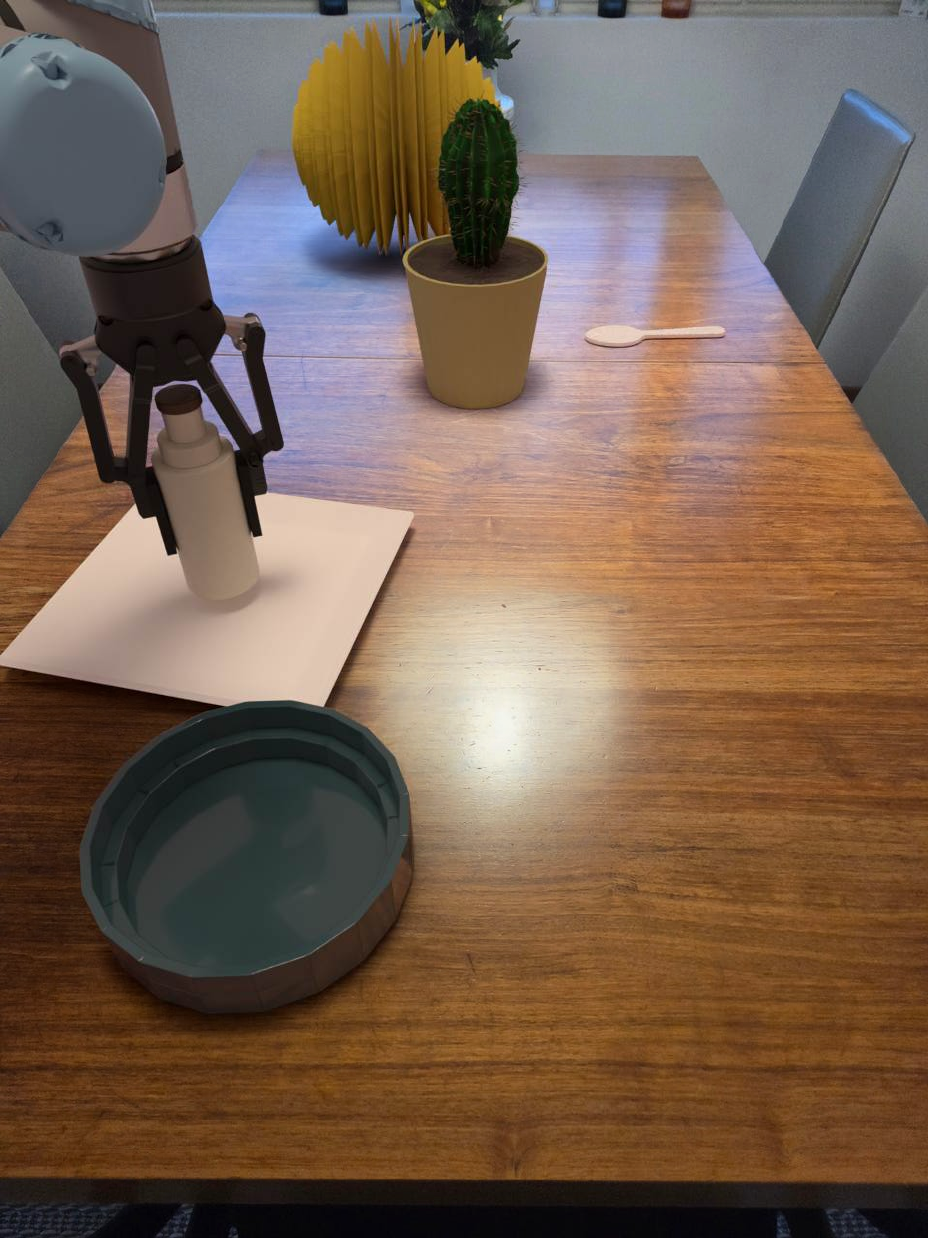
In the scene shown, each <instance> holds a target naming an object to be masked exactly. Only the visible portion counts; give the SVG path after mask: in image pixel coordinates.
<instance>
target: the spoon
mask: <svg viewBox="0 0 928 1238" xmlns="http://www.w3.org/2000/svg"><path fill="white" fill-rule="evenodd" d="M725 335H726V329H725V327H723V326H721V325H720V326H719V325H707V326H693V327H692V326H688V327H678V328H677V327H676V328H666V329H665V328H664V329H663V328H660V329H659V328H657V329H646V330H644V329H639V328H637V327H633V326H630V325H624V324H608V325H602V326H597V327H593V328H591V329H588V330H587V331H586V332H585V334H584V339H585V340H586V341H587V342H589V343H591V344H593V345H598V346H604V347H616V348H617V347H621V348H622V347H630V346H634V345H637V344H640V343H641V342H642V341H644V340H645V339H687V338H690V339H692V338H697V339H698V338H721V337H724V336H725Z"/></svg>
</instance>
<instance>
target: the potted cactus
mask: <svg viewBox="0 0 928 1238" xmlns="http://www.w3.org/2000/svg"><path fill="white" fill-rule="evenodd" d="M484 90H485V89H484ZM483 93H484V92H483ZM482 96H483V94H482ZM482 96H481V98H482ZM473 98H474V97H473ZM455 99H456V98H455ZM459 99H460V98H459ZM460 101H461V100H460ZM464 101H465V100H464ZM490 101H491V100H490ZM457 103H459V102H458V101H457ZM461 103H462V102H461ZM459 104H460V103H459ZM451 105H452V104H451ZM499 105H501V101H500V102H499V104H498V107H499V108H500V106H499ZM460 106H461V104H460ZM456 107H457V106H456ZM498 107H496V106H495V104H490V103H489V101H488V100H487V98H486V100H485V99H483V100H482V101H481V100H480V101H479V98H478V99H477V102H476V101H473V99H471V98H470V99H469V100H467V101H466V103H464V104H463V105H462V106H461V107H460V109H459V108H458V107H457V108H458V109H459V111H458V112H456V113H455V114H456V115H454V114H452V113H451V114H452V116H453V115H454V116H455V117H454V116H453V118H452V117H451V119H454V118H455V120H454V121H452V122H450V124H449V127H447V130H446V133H445V134H444V135H443V138H442V142H441V143H442V144H441V155H440V157H439V167H438V170H439V171H438V173H437V171H435V169H437V168H432V169H430V170H434V171H435V173H437V174H438V176H437V175H436V177H438V182H437V184H438V185H436V186H438V188H439V189H438V188H437V189H438V190H439V191H441V192H442V193H443V194H442V195H441V196H443V195H444V199H445V200H444V199H443V200H444V201H445V204H446V206H442V208H443V207H448V211H445V212H446V214H448V215H449V223H448V222H446V223H445V225H446V224H447V223H448V224H449V227H448V226H446V227H445V228H447V227H448V228H449V231H448V232H449V234H446V235H442V236H438V237H436V236H434V237H429V238H428V239H427V240H422V242H419V243H418V242H417V243H416V244H414V245H412V246H410V247H409V249H408V250H407V251H405V253H403V255H402V264H403V267H404V268H405V269H404V270H405V277H406V281H407V282H406V283H407V286H408V291H409V297H410V301H411V307H412V312H413V317H414V318H413V319H414V322H415V328H416V332H417V337H418V344H419V348H420V353H421V357H422V358H421V359H422V365H423V370H424V375H425V380H426V385H427V388H428V390H429V393H430V394H431V395H432V397H433V398H435V399H436V400H438V401H439V402H440V403H443V404H445V405H448V406H451V407H455V408H460V409H469V410H482V409H483V410H485V409H491V408H497V407H500V406H503V405H506V404H508V403H511V402H513V401H514V400H515V399H517V398H519V396H520V395H521V394H522V392H523V390H524V386H525V383H526V380H527V379H526V378H527V373H528V367H529V363H530V357H531V353H532V347H533V343H534V337H535V333H536V328H537V322H538V317H539V313H540V306H541V301H542V297H543V292H544V287H545V282H546V278H547V277H546V276H547V269H548V263H549V255H548V254H547V252H546V251H545V249H543V248H542V246H540V245H538V244H536V243H534V242H533V241H531V240H527V239H525V238H522V237H518V236H514V235H510V234H509V232H511V231H512V232H513V228H511V229H510V226H511V227H512V226H513V227H514V226H516V227H517V226H519V225H518V222H516V221H514V223H511V219H513V216H512V211H513V210H514V211H516V210H521V208H518V206H519V203H518V201H517V200H516V198H517V195H519V196H521V194H524V192H522V188H520V186H521V187H523V188H527V185H529V184H532V183H531V182H528V183H524V181H526V180H527V178H526V176H528V175H529V173H528V174H526V175H524V176H521V177H520V176H519V174H518V172H520V171H524V169H522V168H521V167H520V165H519V164H523V161H520V160H519V158H518V154H520V153H521V152H525V151H526V152H527V150H525V149H524V150H523V149H522V150H521V149H520V150H519V151H518V148H519V147H520V148H521V145H522V144H523V142H522V143H521V142H520V141H521V139H519V137H518V138H516V137H517V136H519V134H518V132H516V133H515V134H514V133H513V132H514V129H515V128H516V127H517V125H515V124H514V123H515V120H516V118H518V117H519V116H520V114H518V116H516V117H514V116H512V117H511V118H510V119H508V118H509V115H510V114H511V113H510V111H511V110H513V108H514V107H513V108H511V109H510V108H509V109H508V110H507V111H506V113H504V112H503V111H502V112H501V111H500V110H499V108H498ZM453 108H454V107H453ZM453 108H451V109H452V110H453ZM454 110H455V109H454ZM454 110H453V111H454ZM455 111H456V110H455ZM455 111H454V112H455ZM448 112H449V111H448ZM449 114H450V112H449ZM505 115H506V116H505ZM444 117H445V116H444ZM449 117H450V116H449ZM446 118H447V117H446ZM446 118H445V119H446ZM446 120H447V119H446ZM448 120H449V119H448ZM447 122H448V121H447ZM511 122H512V124H510V123H511ZM440 138H441V137H440ZM435 142H436V141H435ZM437 143H438V142H437ZM520 144H521V145H520ZM432 146H433V145H432ZM525 146H526V144H525V145H524V144H523V145H522V147H525ZM436 147H438V146H436ZM517 147H518V148H517ZM438 153H439V152H438ZM431 155H433V154H431ZM434 156H436V155H434ZM437 157H438V156H437ZM437 160H438V159H437ZM425 171H427V170H425ZM434 171H433V172H434ZM429 172H430V171H429ZM431 173H432V172H431ZM432 174H433V173H432ZM434 175H435V174H434ZM432 179H437V178H432ZM435 181H437V180H435ZM432 182H433V181H432ZM434 184H435V183H433V185H434ZM430 185H431V184H430ZM438 190H437V191H438ZM437 191H436V192H437ZM439 191H438V192H439ZM436 192H435V193H436ZM438 192H437V193H438ZM441 192H440V194H441ZM437 193H436V194H437ZM441 196H440V197H441ZM440 197H439V198H440ZM441 198H442V197H441ZM443 200H442V201H443ZM442 201H441V202H442ZM444 201H443V202H444ZM514 201H515V206H516V207H515V206H514V204H513V203H514ZM443 202H442V203H443ZM442 203H441V204H440V205H442ZM443 204H444V203H443ZM445 204H444V205H445ZM438 206H439V205H438ZM438 206H437V207H438ZM437 207H436V208H437ZM436 208H435V209H436ZM514 208H515V209H514ZM441 210H442V209H441ZM444 210H446V209H444ZM521 211H522V210H521ZM447 212H448V213H447ZM444 214H445V213H444ZM442 215H443V214H442ZM441 217H445V216H441ZM514 218H515V219H519V217H517V216H514ZM447 219H448V218H447ZM447 219H446V220H447ZM520 219H521V220H522V219H523V218H521V217H520ZM442 220H444V219H442ZM444 221H445V220H444ZM442 222H443V221H442ZM448 228H447V229H448ZM442 230H443V229H442Z"/></svg>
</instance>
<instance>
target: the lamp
mask: <svg viewBox="0 0 928 1238" xmlns="http://www.w3.org/2000/svg"><path fill="white" fill-rule="evenodd" d="M415 27H416V26H415V18H413V19H412V24H411V29H410V34H409V39H408V43H407V50H406V54H405V60H404V64H403V52H402V45H401V34H400V33H401V32H400V25H399V17H398V16H396V27H395V34H394V29H393V23H392V18H391V16H389V24H388V60H387V56H386V53H385V49H384V46H383V43H382V39H381V36H380V33H379V30H378V26H377V22H376V21H375V18H374V17H373V18H372V29H371V27H370V23H369V21H368V20H367V19H366V20H365V27H364V47H363V45H362V42H361V41H360V39H359V37H358V35H357V33H356V32H355V29H354V28H353V26H350V27H349V28H350V29H349V33H348V31H347V30H346V29H344V30H343V35H342V50H341V48H339V46H338V45H337V44H336V43H335V42H334V40H330V42H329V45H325V46H324V51H323V62H322V61H320V60H319V59H318V58H314V59H313V63H312V64H310V65H309V69H308V77H307V79H308V80H305V79H303V80H301V84H300V86H299V89H298V93H297V94H298V95H297V103H295V104H294V107H293V113H292V131H291V140H292V142H291V143H292V145H291V146H292V152H293V157H294V158H293V159H294V161H295V164H296V170H297V175H298V177H299V179H300V182H301V185H302V186H303V187H304V186H305V191H306V193H307V197H308V200H309V201H310V202H311V204H312V206H313V207H314V208H317V207H319V211H320V214H321V217H322V219H323V220H324V221H326V223H327V225H328V226H331V225H332V224H333V223H334V222H335V223H336V228H337V231H338V234H339V236H341V237H344V239H345V240H346V241H348V240H349V238H350V237H351V236H352V234H353V232H355V238H356V243H357V245H358V248H359V249H360V248H362V246H363V247H364V248H363V249H364V250H365V251H367V250H368V248H369V245H370V244H371V241H372V239H373V237H374V234H375V236H376V244H377V250H378V255H380V256H381V255H382V254H383V250H384V252H385V256H386V257H388V256H389V250H390V246H391V242H392V236H393V231H394V228H395V227H394V225H395V222H396V226H397V233H398V234H397V236H398V245H399V246H398V247H399V252H400V258H401V259H403V250H404V244H405V249H406V251H407V250H408V249H409V248H410V219H411V222H412V225H413V229H414V232H415V236H416V240H417V243H419V242H422V241H424V240H427V239H429V226H430V228H431V229H432V231H433V234H434V235H435V237H438V236H442V235H446V234H450V233H449V232H448V231H450V227H449V226H450V223H449V215H448V214H446V212H445V211H448V207H443V208H442V206H446V204H445V201H444V200H445V199H444V195H443V196H441V195H442V194H443V193H442V192H441V191H439V190H438V189H439V188H438V186H436V185H438V184H437V182H438V177H436V175H437V176H438V174H437V173H438V171H439V170H438V167H439V157H440V155H441V144H442V143H441V142H442V138H443V135H444V134H445V133H446V130H447V127H449V124H450V122H452V121H454V120H455V118H454V119H451V117H452V118H453V116H454V115H456V114H455V113H456V112H458V111H459V109H460V107H461V106H462V105H463V104H464V103H466V101H467V100H469V99H470V98H471V99H473V101H476V102H477V99H478V98H479V101H480V100H481V101H482V100H483V99H485V100H486V98H487V100H488V101H489V103H490V104H495V106H496V107H498V104H499V102H500V103H501V100H496V91H495V84H494V83H492V80H491V77H490V76H489V77H486V78H485V79H483V68H482V62H481V61H479V62H478V59H477V55H475V56H473V57H472V58H471V59H470V60H469V61H468V62H466V49H465V43H464V42H462V44H461V45H460V42H459V38H456V40H455V42H454V43H453V45H452V46H451V47H450V49H449V50H448V52H447V53H446V47H445V46H446V45H445V43H446V42H445V29H444V28H443V29H442V30H441V32H440V34H439V35H438V25H436V26H435V28H434V31H433V33H432V35H431V37H430V38H431V39H429V43H428V44H427V48H426V50H425V52H424V55H423V39H422V38H423V36H422V20H420V21H419V26H418V29H417V33H416V30H415ZM484 89H485V90H484ZM483 92H484V93H483ZM482 94H483V96H482ZM481 96H482V98H481ZM473 97H474V98H473ZM455 98H456V99H455ZM459 98H460V99H459ZM460 100H461V101H460ZM464 100H465V101H464ZM490 100H491V101H490ZM457 101H458V102H459V103H460V104H461V106H460V104H459V103H457ZM461 102H462V103H461ZM451 104H452V105H451ZM456 106H457V107H458V108H459V109H458V108H457V107H456ZM499 106H500V108H499V107H498V108H499V110H500V111H501V112H502V113H503V108H502V107H501V106H502V104H500V105H499ZM453 107H454V108H453ZM451 108H453V110H454V109H455V110H456V111H455V110H454V111H455V112H454V111H453V110H452V109H451ZM448 111H449V112H450V114H449V112H448ZM451 113H452V114H454V115H453V116H452V114H451ZM444 116H445V117H444ZM449 116H450V117H449ZM446 117H447V118H446ZM454 117H455V116H454ZM445 118H446V119H447V120H446V119H445ZM448 119H449V120H448ZM447 121H448V122H447ZM440 137H441V138H440ZM435 141H436V142H435ZM437 142H438V143H437ZM432 145H433V146H432ZM436 146H438V147H436ZM438 152H439V153H438ZM431 154H433V155H431ZM434 155H436V156H434ZM437 156H438V157H437ZM437 159H438V160H437ZM432 168H437V169H435V171H437V173H435V171H434V170H430V169H432ZM425 170H427V171H425ZM429 171H430V172H429ZM433 171H434V172H433ZM431 172H432V173H433V174H432V173H431ZM434 174H435V175H434ZM432 178H437V179H432ZM435 180H437V181H435ZM432 181H433V182H432ZM433 183H435V184H434V185H433ZM430 184H431V185H430ZM437 188H438V189H437ZM437 190H438V191H439V192H438V191H437ZM436 191H437V192H438V193H437V192H436ZM435 192H436V193H437V194H436V193H435ZM440 192H441V194H440ZM440 196H441V197H442V198H441V197H440ZM439 197H440V198H439ZM443 199H444V200H443ZM442 200H443V201H444V202H443V201H442ZM441 201H442V202H443V203H444V204H445V205H444V204H443V203H442V202H441ZM441 203H442V205H440V204H441ZM438 205H439V206H438ZM437 206H438V207H437ZM436 207H437V208H436ZM435 208H436V209H435ZM441 209H442V210H441ZM444 209H446V210H444ZM444 213H445V214H444ZM447 213H448V212H447ZM442 214H443V215H442ZM441 216H445V217H441ZM447 218H448V219H447ZM442 219H444V220H445V221H444V220H442ZM446 219H447V220H446ZM442 221H443V222H442ZM446 222H448V223H449V224H448V223H447V224H446V225H445V223H446ZM446 226H448V227H449V228H448V227H447V228H448V229H447V228H445V227H446ZM442 229H443V230H442ZM406 251H405V252H406Z"/></svg>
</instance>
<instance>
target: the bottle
mask: <svg viewBox="0 0 928 1238" xmlns="http://www.w3.org/2000/svg"><path fill="white" fill-rule="evenodd" d="M153 400H154V403H155V406H156V409H157V411H159V412H160V413H161V417H162V421H163V424H164V427H163V428H162V429H161V430H160V431H159V432H158V433H157V437H156V442H157V445H158V446H156V448H155V449H154V450H153V452H152V453H151V457H150V462H151V466H153V469H154V473H155V476H156V479H157V483H158V486H159V490H160V493H161V497H162V500H163V503H164V507H165V510H166V514H167V517H168V521H169V524H170V527H171V531H172V534H173V538H174V541H175V545H176V548H177V551H178V555H179V558H180V562H181V565H182V569H183V572H184V575H185V579H186V582H187V586H188V588H189V590H190V591H191V592H192V593H193V594H195V595H196V596H198V597H201V598H204V599H210V600H222V599H228V598H232V597H235V596H238V595H240V594H242V593H244V592H246V591H247V590H249V589H250V588H251V587H252V586H253V585H254V584H255V583H256V582H257V580H258V578H259V574H260V570H259V565H258V560H257V556H256V551H255V547H254V542H253V537H252V533H251V528H250V524H249V519H248V514H247V510H246V505H245V500H244V496H243V491H242V486H241V482H240V477H239V473H238V468H237V463H236V459H235V454H234V451H235V450H234V446H233V443H232V442H231V441H230V440H229V438H227V437H225V436H223V435H222V434H220V433H219V428H218V427H217V426H216V424H214V423H213V422H211V421H209V420H205V417H204V412H203V409H202V405H203V396H202V392H201V389H200V388H199V387H198V386H196V385H194V384H190V383H177V384H176V383H175V384H171V385H169V386H165V387H163V388H161V389H159V390H158V391H157V392H156V393H155V394H154V399H153Z"/></svg>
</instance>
